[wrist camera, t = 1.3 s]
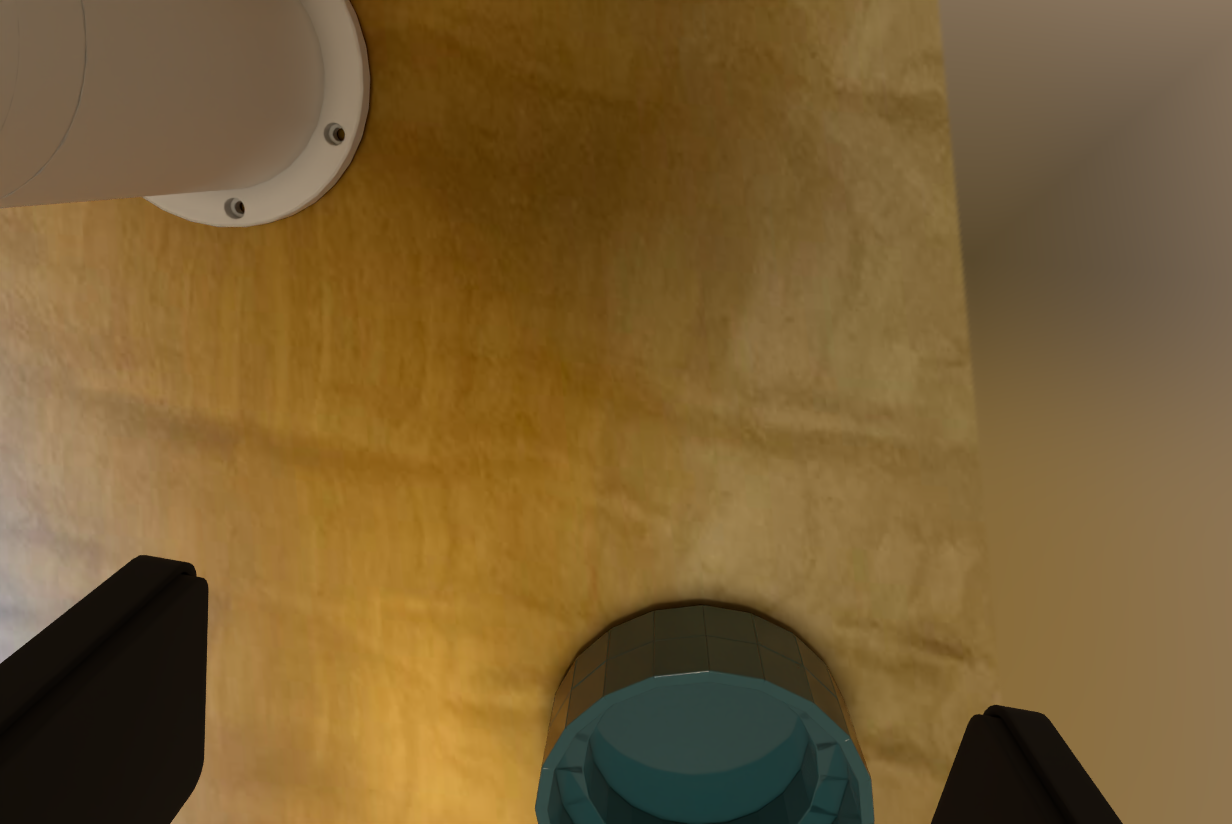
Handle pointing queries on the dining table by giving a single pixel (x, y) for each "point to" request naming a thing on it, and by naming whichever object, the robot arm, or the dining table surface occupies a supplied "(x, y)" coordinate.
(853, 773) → the bowl
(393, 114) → the dining table surface
